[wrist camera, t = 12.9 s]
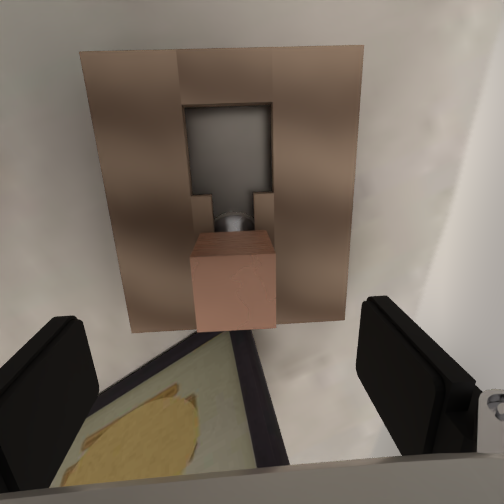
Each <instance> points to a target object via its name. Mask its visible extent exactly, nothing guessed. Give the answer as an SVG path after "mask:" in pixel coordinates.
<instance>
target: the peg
mask: <svg viewBox="0 0 504 504" xmlns="http://www.w3.org/2000/svg"><path fill="white" fill-rule="evenodd" d="M214 227H215V232H209V233H200V234H199V237H198V239H197V241H196V244H195V246H194V248H193V251H192V253H191V255H190V266H191V276H192V286H193V296H194V306H195V316H196V326H197V332H214V331H232V330H250V329H267V328H276V253H275V250H274V248H273V245H272V243H271V241H270V238H269V236H268V233H267V231H266V230H256V231H254V219H253V218H252V217H251V216H249V215H247V214H245V213H242V212H236V211H233V212H227V213H224V214H222V215H220V216H219V217H217V218H216V219H215V220H214Z"/></svg>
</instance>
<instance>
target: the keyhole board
mask: <svg viewBox="0 0 504 504" xmlns="http://www.w3.org/2000/svg"><path fill="white" fill-rule="evenodd" d="M363 53H364V45H342V46H298V47H255V48H212V49H168V50H125V51H82V52H79V54H80V59H81V65H82V70H83V75H84V81H85V86H86V91H87V97H88V102H89V107H90V113H91V118H92V123H93V129H94V134H95V139H96V145H97V150H98V155H99V161H100V166H101V171H102V177H103V182H104V187H105V193H106V198H107V203H108V209H109V214H110V219H111V225H112V230H113V235H114V241H115V246H116V251H117V257H118V262H119V267H120V273H121V278H122V283H123V289H124V294H125V299H126V305H127V310H128V315H129V321H130V326H131V331H132V333H143V332H159V331H175V330H192V329H197V326H196V316H195V306H194V296H193V286H192V276H191V266H190V255H191V253H192V251H193V248H194V246H195V244H196V241H197V239H198V237H199V234H200V233H209V232H215V227H214V214H213V201H212V194H202V195H193V193H192V183H191V173H190V162H189V152H188V142H187V131H186V121H185V111H184V108H190V107H222V106H255V105H271V151H272V192H253V204H254V231H256V230H266V231H267V233H268V236H269V238H270V241H271V243H272V245H273V248H274V250H275V253H276V324H290V323H307V322H323V321H339V320H345V308H346V294H347V280H348V265H349V251H350V237H351V223H352V209H353V195H354V181H355V166H356V152H357V138H358V124H359V110H360V96H361V82H362V67H363Z"/></svg>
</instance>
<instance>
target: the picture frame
mask: <svg viewBox="0 0 504 504" xmlns="http://www.w3.org/2000/svg"><path fill="white" fill-rule="evenodd" d="M286 465H290V463H289V460H288V456H287V453H286V449H285V446H284V442H283V439H282V436H281V432H280V429H279V425H278V422H277V418H276V415H275V411H274V408H273V404H272V401H271V397H270V394H269V390H268V387H267V383H266V380H265V376H264V373H263V369H262V366H261V362H260V359H259V355H258V352H257V348H256V345H255V341H254V338H253V334H252V331H251V329H250V330H232V331H214V332H197V333H196V334H194V335H193V336H191V337H190V338H188V339H187V340H185V341H183V342H182V343H180V344H179V345H177V346H176V347H174V348H172V349H171V350H169V351H168V352H166V353H165V354H163V355H162V356H160V357H158V358H157V359H155V360H154V361H152V362H151V363H149V364H147V365H146V366H144V367H143V368H141V369H140V370H138V371H137V372H135V373H133V374H132V375H130V376H129V377H127V378H126V379H124V380H122V381H121V382H119V383H118V384H116V385H115V386H113V387H112V388H110V389H108V390H107V391H105V392H104V393H102V394H101V395H99V396H97V399H96V401H95V402H94V404H93V406H92V408H91V410H90V412H89V414H88V416H87V417H86V419H85V421H84V423H83V425H82V427H81V429H80V431H79V433H78V434H77V436H76V438H75V440H74V442H73V444H72V446H71V448H70V449H69V451H68V453H67V455H66V457H65V459H64V461H63V463H62V465H61V466H60V468H59V470H58V472H57V474H56V476H55V478H54V480H53V481H52V483H51V485H50V487H49V488H55V487H65V486H75V485H85V484H95V483H105V482H115V481H125V480H135V479H145V478H156V477H167V476H177V475H188V474H199V473H209V472H220V471H231V470H242V469H253V468H264V467H274V466H286Z"/></svg>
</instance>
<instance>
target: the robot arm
mask: <svg viewBox="0 0 504 504" xmlns="http://www.w3.org/2000/svg"><path fill="white" fill-rule="evenodd" d="M356 371H357V375H358V377H359V379H360V381H361V383H362V384H363V386H364V388H365V390H366V392H367V393H368V395H369V397H370V399H371V401H372V402H373V404H374V406H375V408H376V410H377V412H378V413H379V415H380V417H381V419H382V421H383V422H384V424H385V426H386V428H387V429H388V431H389V433H390V435H391V437H392V439H393V440H394V442H395V444H396V446H397V448H398V449H399V451H400V453H401V455H402V456H395V457H394V456H393V457H380V458H367V459H355V460H344V461H332V462H321V463H309V464H297V465H286V466H274V467H264V468H253V469H242V470H231V471H220V472H209V473H199V474H188V475H177V476H167V477H156V478H145V479H135V480H125V481H115V482H105V483H95V484H85V485H75V486H65V487H55V488H49V487H50V485H51V483H52V481H53V480H54V478H55V476H56V474H57V472H58V470H59V468H60V466H61V465H62V463H63V461H64V459H65V457H66V455H67V453H68V451H69V449H70V448H71V446H72V444H73V442H74V440H75V438H76V436H77V434H78V433H79V431H80V429H81V427H82V425H83V423H84V421H85V419H86V417H87V416H88V414H89V412H90V410H91V408H92V406H93V404H94V402H95V401H96V399H97V396H98V393H99V383H98V379H97V375H96V371H95V368H94V364H93V360H92V356H91V352H90V348H89V344H88V340H87V336H86V333H85V329H84V325H83V322H82V321H81V320H78V319H77V318H76V317H75V316H59V317H54V318H52V319H51V320H50V321H49V322H48V323H47V324H46V325H45V326H44V327H43V328H42V329H41V330H40V331H38V332H37V333H36V334H35V335H34V336H33V337H32V338H31V339H30V340H29V341H28V342H27V343H26V344H25V345H24V346H23V347H22V348H21V349H20V350H19V351H18V352H17V353H16V354H15V355H14V356H13V357H11V358H10V359H9V360H8V361H7V362H6V363H5V364H4V365H3V366H2V367H1V368H0V504H504V390H501V389H491V390H486V391H484V392H482V391H481V390H480V389H479V388H478V387H477V386H476V385H475V383H476V381H475V379H473V378H472V377H471V376H470V375H469V374H468V373H467V372H466V371H465V370H464V369H463V368H462V367H461V366H460V365H459V364H458V363H457V362H456V361H455V360H454V359H453V358H452V357H450V356H449V355H448V354H447V353H446V352H445V351H444V350H443V349H442V348H441V347H440V346H439V345H438V344H437V343H436V342H435V341H434V340H433V339H432V338H430V336H428V335H427V334H426V333H425V332H424V331H423V330H422V329H421V328H420V327H419V326H418V325H417V324H416V323H415V322H414V321H413V320H412V319H411V318H410V317H409V316H408V315H407V314H405V313H404V312H403V311H402V310H401V309H400V308H399V307H398V306H397V305H396V304H395V303H394V302H393V301H392V300H391V299H390V298H389V297H387V296H371V297H368V298H367V301H364V302H363V303H362V308H361V318H360V328H359V338H358V348H357V358H356Z"/></svg>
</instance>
